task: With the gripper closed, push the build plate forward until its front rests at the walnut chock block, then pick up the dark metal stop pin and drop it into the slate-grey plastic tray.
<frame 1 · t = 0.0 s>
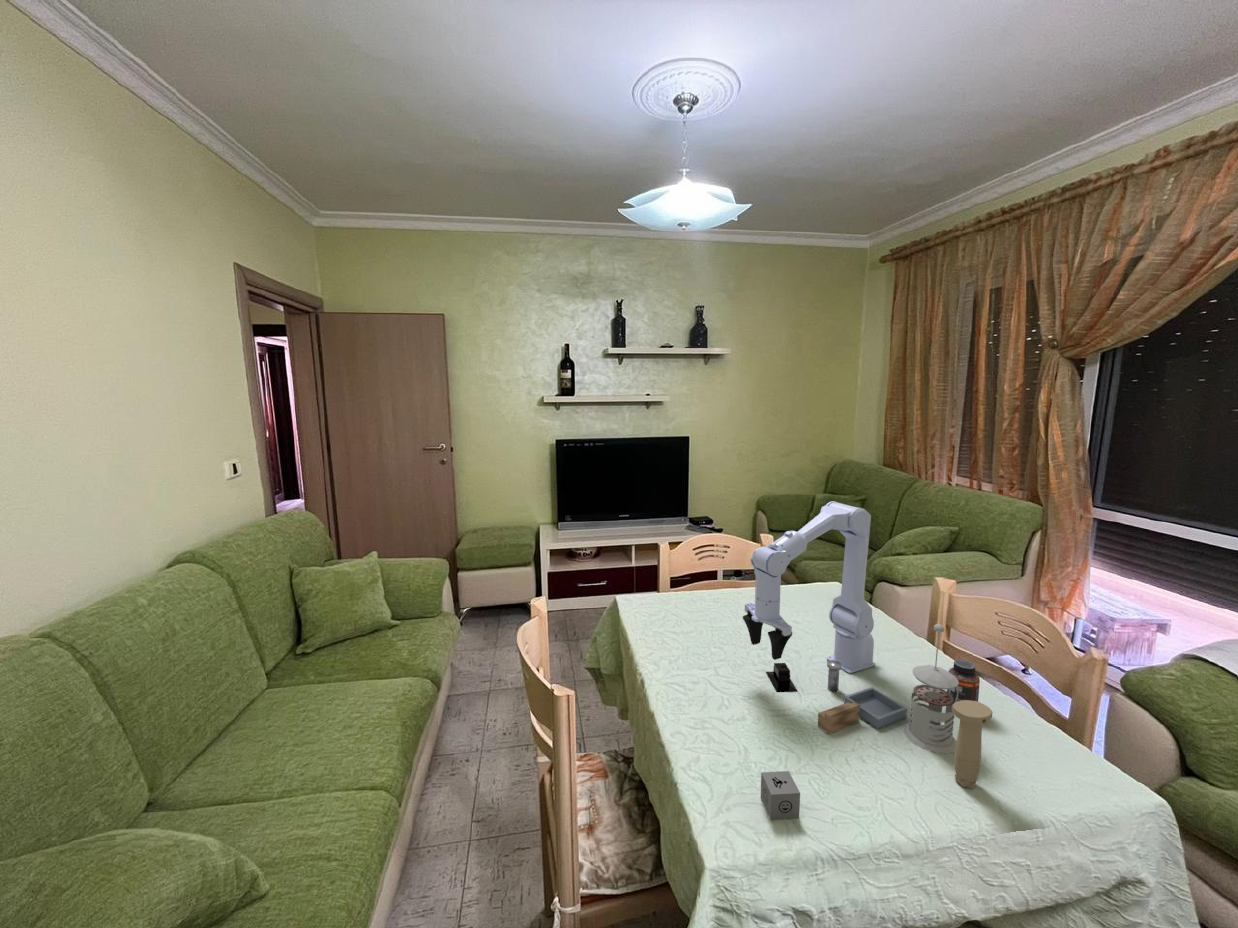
hand: (765, 650, 121), 10 cm above the table, fingers open, 7 cm apart
chock: (838, 723, 110), on the table
tray: (874, 712, 113), on the table
french press: (932, 736, 106), on the table
dice cube: (779, 808, 88), on the table
build plate: (781, 684, 126), on the table
supplement bottle: (960, 710, 114), on the table
stop pin: (832, 689, 122), on the table
handle: (965, 783, 93), on the table
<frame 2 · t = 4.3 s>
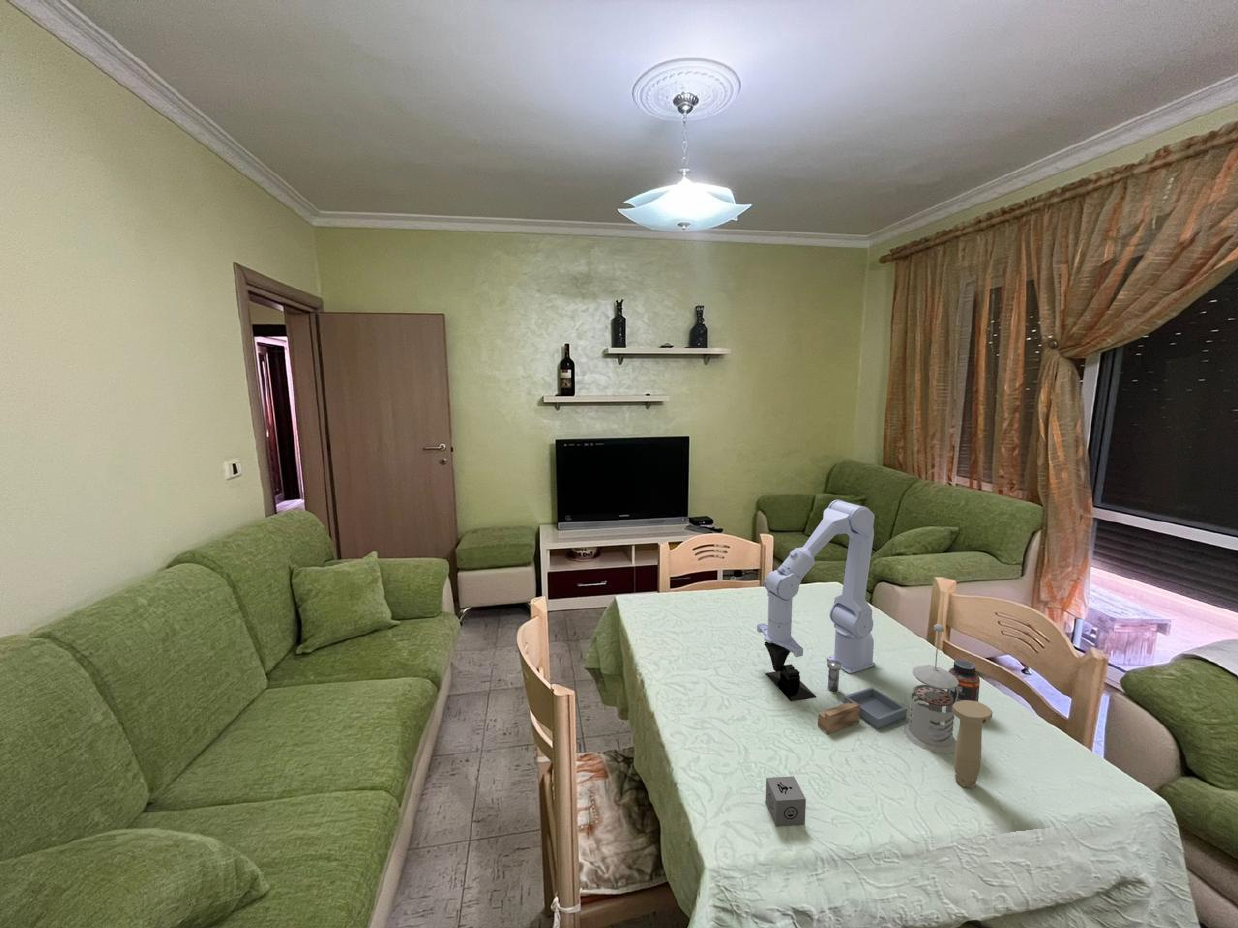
hand: (777, 669, 127), 2 cm above the table, fingers closed
dice cube: (784, 814, 87), on the table
build plate: (789, 686, 125), on the table, touching gripper
everything else where it was.
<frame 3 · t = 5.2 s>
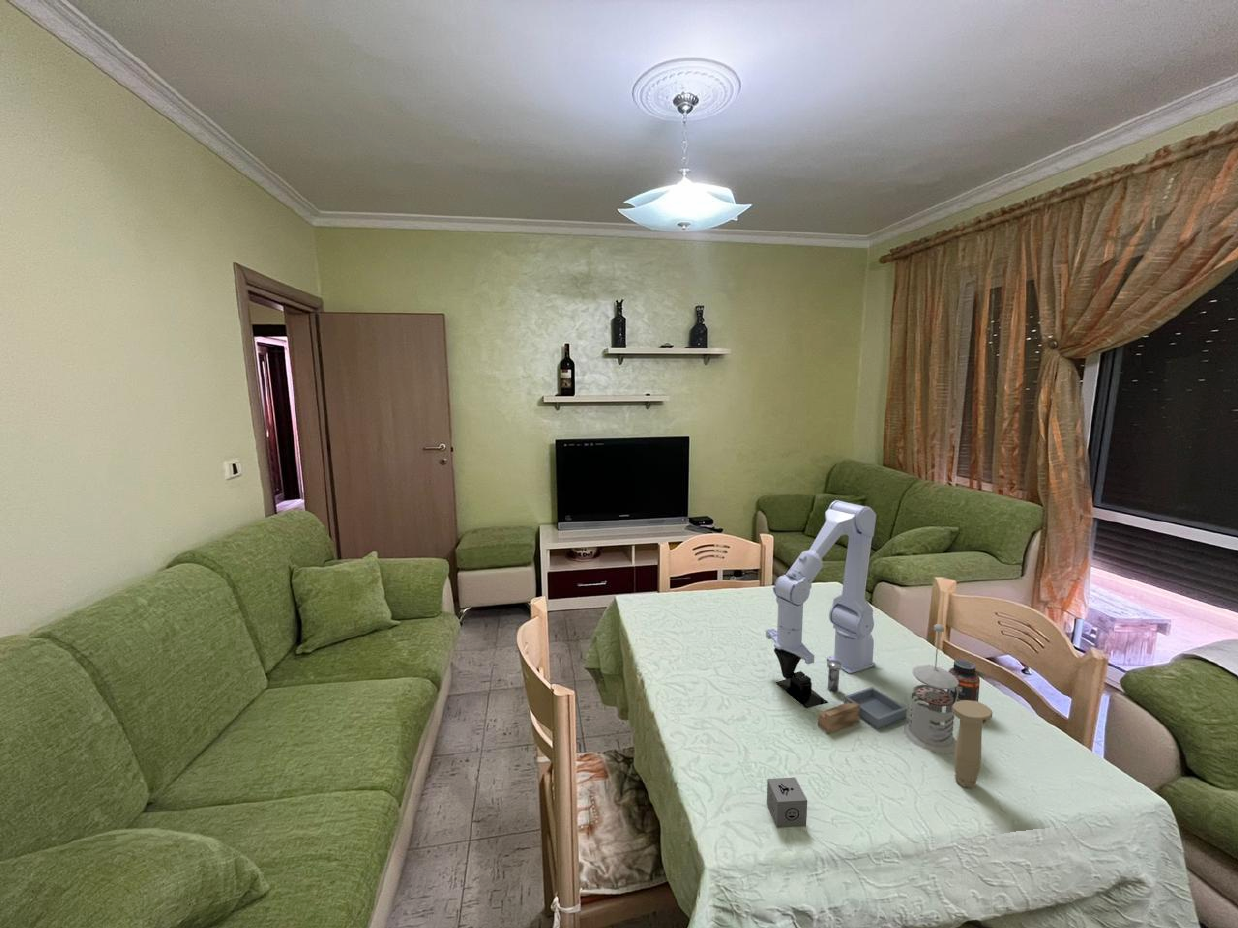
hand: (787, 676, 124), 2 cm above the table, fingers closed
build plate: (800, 693, 122), on the table
everything else where it was.
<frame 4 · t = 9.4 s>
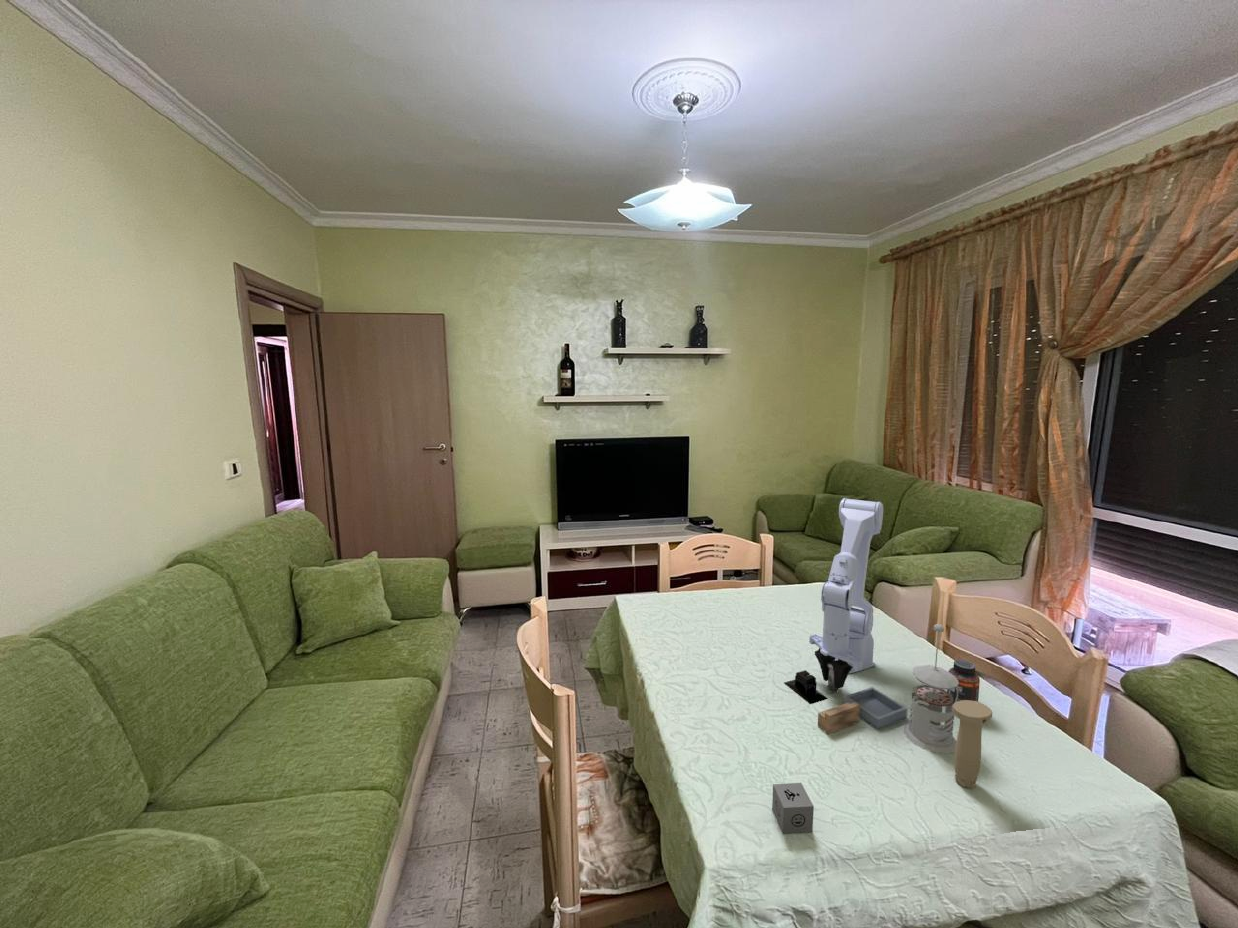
hand: (833, 683, 122), 2 cm above the table, fingers closed on stop pin, 3 cm apart
dice cube: (791, 822, 85), on the table
build plate: (805, 693, 122), on the table
stop pin: (832, 689, 122), on the table, touching gripper
everything else where it was.
when the fingers open (4 cm above the table, at t = 12.1 s): stop pin drops 1 cm, resting on tray.
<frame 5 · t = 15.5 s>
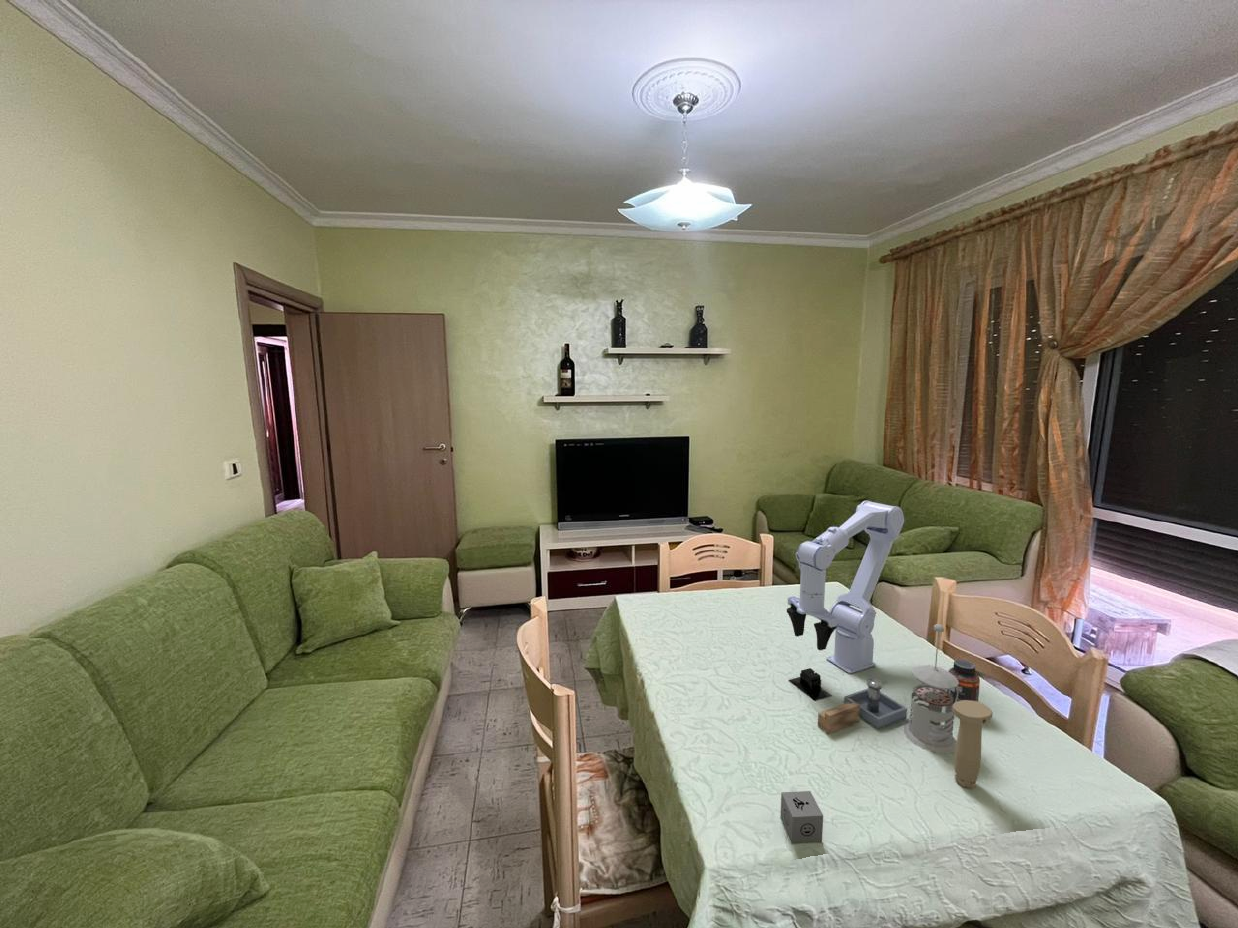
hand: (810, 642, 125), 10 cm above the table, fingers open, 7 cm apart
dice cube: (800, 831, 83), on the table
build plate: (809, 690, 123), on the table
stop pin: (873, 709, 113), point 1 cm above the table, touching tray
everything else where it was.
at the end: build plate inside the target area (6.2 cm from its centre), on the table; stop pin inside the target area on the tray (0.3 cm from its centre), point 0.6 cm above the tray's base; the gripper is holding nothing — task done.
